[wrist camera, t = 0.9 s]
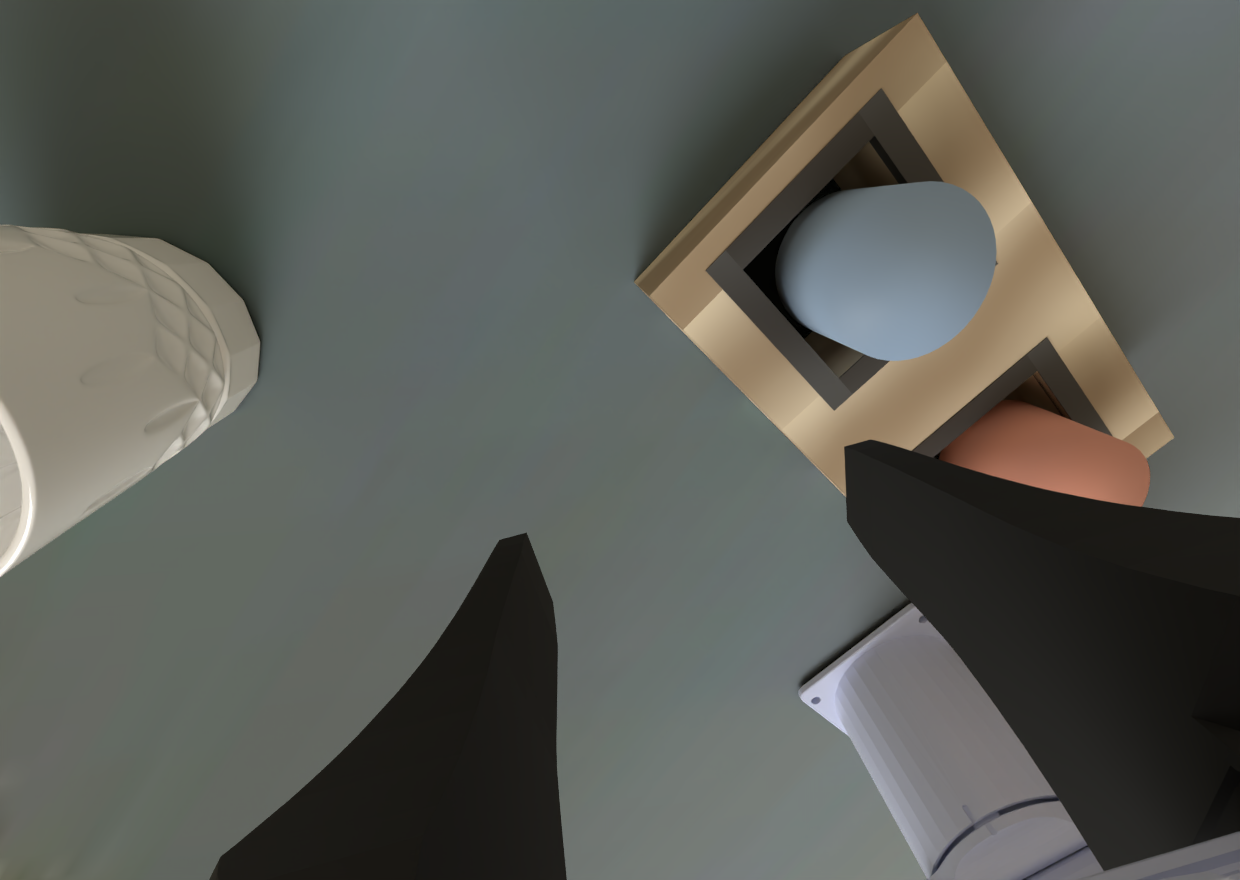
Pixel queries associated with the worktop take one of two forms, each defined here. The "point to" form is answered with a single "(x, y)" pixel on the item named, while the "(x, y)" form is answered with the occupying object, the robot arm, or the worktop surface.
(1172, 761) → the robot arm
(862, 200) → the blue peg
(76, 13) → the worktop surface
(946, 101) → the peg block
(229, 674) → the worktop surface
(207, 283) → the white cup
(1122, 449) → the pink ball
